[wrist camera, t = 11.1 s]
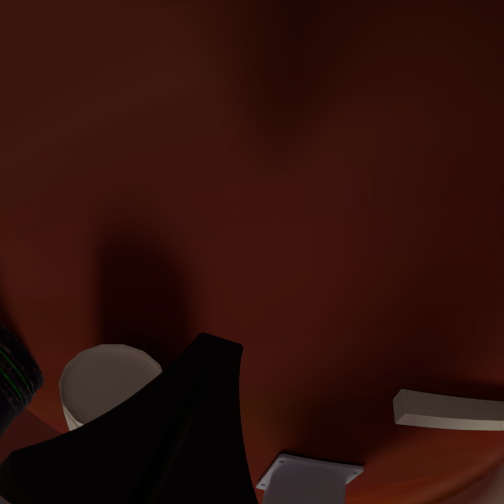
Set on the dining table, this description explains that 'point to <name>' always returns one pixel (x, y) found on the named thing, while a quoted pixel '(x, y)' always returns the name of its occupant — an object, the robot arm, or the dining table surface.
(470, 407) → the bay
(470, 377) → the dining table surface
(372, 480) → the dining table surface
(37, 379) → the green-striped black cylinder
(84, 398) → the foam cup
